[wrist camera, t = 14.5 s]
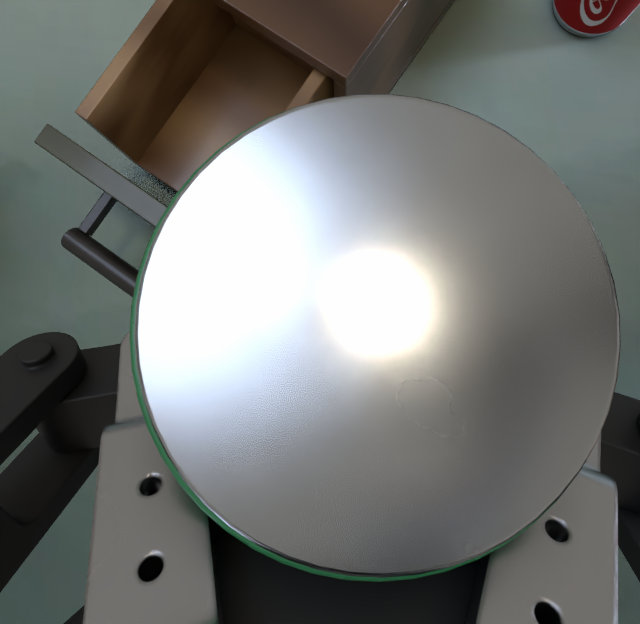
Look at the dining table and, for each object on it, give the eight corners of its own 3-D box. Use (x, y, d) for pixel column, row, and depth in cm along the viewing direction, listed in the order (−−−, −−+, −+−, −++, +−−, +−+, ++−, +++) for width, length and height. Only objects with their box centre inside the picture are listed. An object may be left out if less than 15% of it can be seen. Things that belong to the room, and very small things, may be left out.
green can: (440, 323, 17) (779, 253, 4) (365, 432, 17) (449, 751, 4) (332, 250, 18) (302, -41, 4) (258, 355, 18) (-11, 392, 4)
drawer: (204, 334, 28) (159, 331, 21) (70, 237, 29) (-14, 205, 22) (366, 104, 28) (373, 30, 22) (229, 17, 29) (195, -81, 23)
